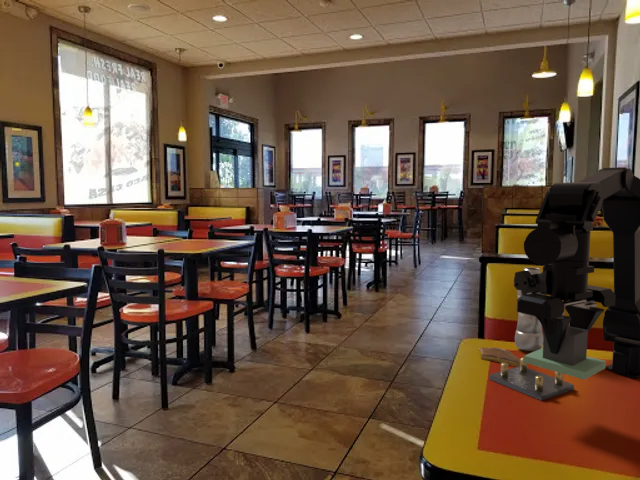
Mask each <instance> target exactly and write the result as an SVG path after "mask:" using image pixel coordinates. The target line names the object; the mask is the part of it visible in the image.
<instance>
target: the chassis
mask: <svg viewBox="0 0 640 480" xmlns="http://www.w3.org/2000/svg"><path fill="white" fill-rule="evenodd" d="M519 360H520V366H519V367H515V366H514V367H512V368H509V365H508V364H507V363H500V371H498V372H494V373H489V377H488V378H489V380H490V381H493V382H495V383H498V384H500V385H503V386H505V387H507V388H510V389H511V390H514V391H517V392H519V393H522V394H523V395H526V396H529V397H531V398H533V397H534V399H536V400H538V399H539V400H538V401H540V402H541V401H545V400H548V399H550V398H553V397H557V396H560V395H563V394H565V393H568V392H571V391H574V390H575V384H573V383H570V382H568V381H565V380H563V379H564V374H563V373H559V372H555V371H554V376H551V375H548V374H545V373H542V372H540V371H537V370H535V369H532V368H529V367H528V364H527V363H524V357H520V358H519Z"/></svg>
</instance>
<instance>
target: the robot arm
mask: <svg viewBox="0 0 640 480" xmlns="http://www.w3.org/2000/svg"><path fill="white" fill-rule="evenodd" d="M601 210H602V217H603V222H604V223H605V224H606V225H607V227H608V228H609V229H610V231H611V232H612V248H613V249H612V250H613V251H612V252H613V253H612V254H613V256H612V257H613V260H612V262H613V290H612V289H611V288H607V287H603V286H597V285H591V284H589V274H592V273H595V265H594V266H593V265H589V264H590V249H591V248H590V246H591V231H593V229H594V226H593V224H592V222H593V223H594V222H595V220H596V219H597V216H598V214H599V212H600V211H601ZM535 224H536V225H537V227H536V228H535V229H533V230H531V231H530V232H529V233H528V234H527V236H526V237H525V240H524V241H523V250H524V254H525V255H526V257H527V258H528V260H529V261H530V262H532V263H534V264H536V265H538V266H542V272H540V273H538V274H532V275H531V273H530V272H529V271H528V270H525V271H524V270H520V271H516V272H514V279H513V287H514V288H515V290H516V291H517V290H521V294H522V296H521V297H519V298H518V297H517V299H516V313H517V312H520V313H524V314H528V315H532V316H535V317H536V318H537V319H538V320H539V321H540V323H541V325H542V331H543V334H544V333H545V336H546V339H547V342H548V346H549V349H550V352H551V353H553V354H558V352H559V350H560V347H561V345H562V342H563V339H564V336H565V333H566V331H567V328H568V326H571V327H575V328H580V329H585V330H588V333H589V331H591V329H592V328H593V326H594V325H595V323H596V322H597V320H598V319H599V318H600V317H601V315H602V313H604V316H603V319H602V328H603V329H602V330H603V340H604V342H610V343H613V345H612V346H613V347H612V359H611V361H612V362H611V364H609V365H606V368H605V370H607V371H611V372H613V373H616V374H620V375H623V376H626V377H629V378H632V379H638V378H640V178H639V177H638V176H636V175H634V172H633V170H632V169H631V168H628V167H626V166H625V167H624V166H622V167H621V166H619V167H603V168H601V169H598V172H595V173H593V174H592V175H590V176H587V177H585V178H583V179H581V180H579V181H575V182H557V183H553V184H552V185H551V186H550V187H549V189H548V190H547V192H546V193H545V196H544V197H543V201H542V203H541V206H540V208H539V210H538V214H537V216H536V219H535ZM539 292H540V294H537V293H539ZM527 293H532V294H527ZM542 294H544V295H542ZM597 303H600V304H601V305H602V308H601V307H597ZM603 307H604V308H606V310H605V309H604V308H603ZM565 311H566V312H567V314H568V315H565Z"/></svg>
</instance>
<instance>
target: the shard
mask: <svg viewBox="0 0 640 480" xmlns="http://www.w3.org/2000/svg"><path fill="white" fill-rule="evenodd" d="M478 351H479V352H480V353H481V354H480V359H481V360H485V361H492V362H495V363H499V364H501V363H507V364H508V366H511V367H514V368H515V367H519V366H520V358H518V357H517V356H516V355H515V354H514V353H512V351H510V350H507V349H506V348H500V347H478Z"/></svg>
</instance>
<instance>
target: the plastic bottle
mask: <svg viewBox="0 0 640 480" xmlns="http://www.w3.org/2000/svg"><path fill="white" fill-rule="evenodd" d="M525 270H528V271H529V272H530V273H531V275H532V274H538V273H541V268H538V267H524V269H523V271H525ZM516 294H517V295H516V296H517V299H518V298H519V297H521V296H522V294H521V290H517V289H516ZM527 294H532V293H527ZM537 294H540V292H539V293H537ZM542 295H544V294H542ZM517 316H518V317H517V323H516V324H517V325H516V330H515V334H514V344H515V346H516V348H517V349H519V350H521V351H524V352H525V351H526V352H534V351H537V350H539V349H541V348H543V341H544V331H543V327H542V325H541V323H540V321H539V320H538V319H537V318H536V317H535V316H532V315H528V314H524V313H520V312H518V315H517Z"/></svg>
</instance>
